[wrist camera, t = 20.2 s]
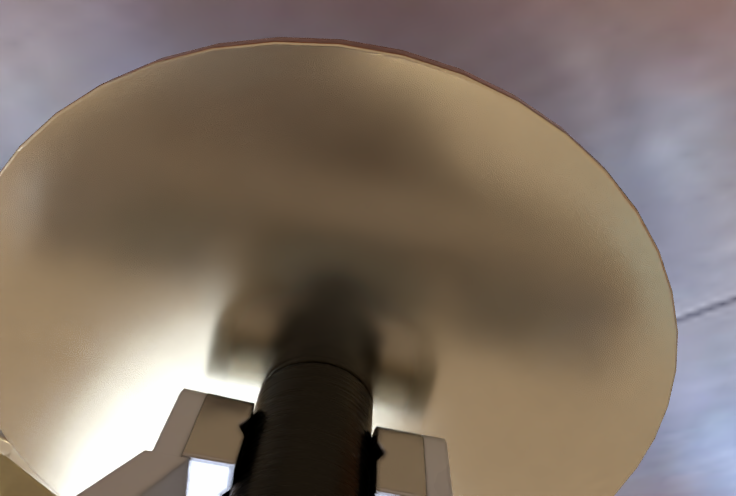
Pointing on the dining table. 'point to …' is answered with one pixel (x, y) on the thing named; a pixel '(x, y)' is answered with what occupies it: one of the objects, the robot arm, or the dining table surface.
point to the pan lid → (328, 276)
